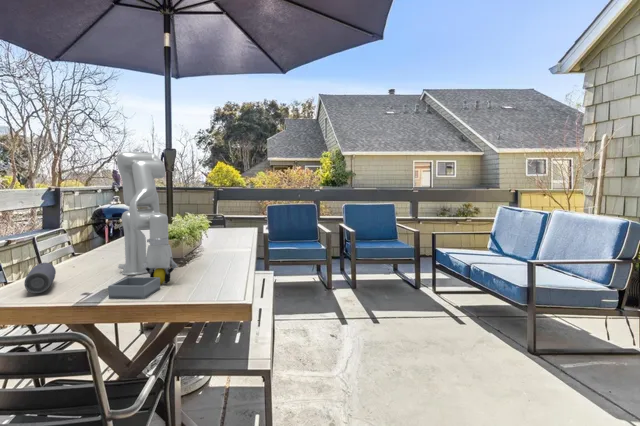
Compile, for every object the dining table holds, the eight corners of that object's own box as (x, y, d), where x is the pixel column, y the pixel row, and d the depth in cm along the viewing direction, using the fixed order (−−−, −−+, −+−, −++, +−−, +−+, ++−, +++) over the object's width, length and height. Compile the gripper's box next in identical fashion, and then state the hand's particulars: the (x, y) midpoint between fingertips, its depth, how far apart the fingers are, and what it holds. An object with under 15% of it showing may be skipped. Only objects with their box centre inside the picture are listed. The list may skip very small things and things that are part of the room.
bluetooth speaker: (31, 284, 166) (30, 262, 166) (57, 282, 171) (56, 260, 170) (23, 298, 147) (21, 273, 146) (52, 294, 152) (50, 270, 151)
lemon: (156, 283, 170) (155, 265, 169) (168, 282, 170) (168, 265, 169) (151, 286, 164) (151, 268, 164) (164, 286, 165) (164, 268, 164)
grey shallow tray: (108, 298, 146) (108, 286, 146) (127, 288, 160) (127, 277, 160) (144, 299, 146) (143, 286, 146) (160, 288, 160) (159, 277, 160)
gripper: (135, 243, 162) (137, 284, 163) (175, 243, 162) (176, 284, 163) (144, 240, 170) (145, 280, 171) (181, 240, 169) (182, 280, 171)
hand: (160, 282), depth 167 cm, fingers closed on lemon, 5 cm apart
